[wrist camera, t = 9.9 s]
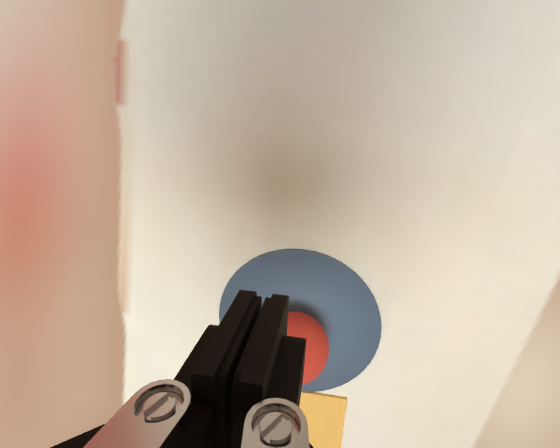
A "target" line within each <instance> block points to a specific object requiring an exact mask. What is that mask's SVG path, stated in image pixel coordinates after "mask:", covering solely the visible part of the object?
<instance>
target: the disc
mask: <svg viewBox="0 0 560 448" xmlns="http://www.w3.org/2000/svg"><path fill="white" fill-rule="evenodd" d="M239 290H248V291H256V292H257V296H261V297H262V305H263V303H264V300H265V298H266V297H269V298H271V296H272V294H280V295H288V296H289V307H288V312H289V311H297V312H302V313H306V314H308V315H310V316H311V317H313V318H314V319H316V320H317V321H318V322H319V323H320V325H321V326H322V327H323V329H324V331H325V333H326V335H327V338H328V343H329V355H328V360H327V363H326V365H325V367H324V369H323V371H322V372H321V373H320V375H319V376H318V377H317V378H316V379H314V380H313V381H311V382H309V383H307V384H304V385H302V390H301V392H316V391H324V390H328V389H332V388H335V387H338V386H341V385H343V384H345V383H347V382H349V381H350V380H352V379H354V378H355V377H357V376H358V375H359V374H360V373H361V372H362V371H363V370H364V369H365V368H366V367H367V366H368V365H369V363H370V362H371V360H372V359H373V357H374V356H375V353H376V351H377V349H378V346H379V342H380V338H381V318H380V313H379V309H378V306H377V303H376V301H375V298H374V296H373V295H372V293H371V291H370V289H369V288H368V287H367V285H366V284H365V283H364V281H363V280H362V279H361V278H360V277H359V276H358V275H357V274H356V273H355V272H354V271H352V270H351V269H350V268H348V267H347V266H346V265H344V264H343V263H341V262H339V261H337V260H336V259H333V258H331V257H329V256H326V255H324V254H320V253H317V252H313V251H307V250H297V249H288V250H279V251H274V252H269V253H266V254H264V255H261V256H259V257H257V258H255V259H253V260H251V261H249V262H248V263H246V264H245V265H244V266H242V267H241V268H240V269H239V270H238V271H237V272H236V273H235V274H234V276H233V277H232V278H231V279H230V281H229V282H228V284H227V286H226V288H225V290H224V292H223V295H222V298H221V303H220V310H219V319H220V322H221V321H222V319H223V317H224V316H225V314H226V312H227V310H228V309H229V307H230V305H231V304H232V302H233V300H234V299H235V297H236V295H237V293H238V292H239Z"/></svg>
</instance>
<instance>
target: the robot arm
mask: <svg viewBox="0 0 560 448" xmlns="http://www.w3.org/2000/svg"><path fill="white" fill-rule="evenodd" d="M288 307H289V296H288V295H280V294H272V296H271V298H269V297H266V298H265V300H264V303H263V305H262V297H261V296H257V292H256V291H248V290H239V292H238V293H237V295H236V297H235V299H234V300H233V302H232V304H231V305H230V307H229V309H228V310H227V312H226V314H225V316H224V317H223V319H222V321H221V322H220V324H219V326H216V325H209V326H208V327H207V328H206V330H205V331H204V333H203V335H202V336H201V338H200V339H199V341H198V342H197V344H196V346H195V347H194V349H193V350H192V352H191V353H190V355H189V357H188V358H187V360H186V361H185V363H184V364H183V366H182V367H181V369H180V371H179V372H178V374H177V375H176V377H175V378H174V380H171V379H166V380H158V381H155V382H152V383H149V384H148V385H146V386H144V387H142V388H141V389H140V390H138V391H137V392H136V393H135V394H134V395H133V396H132V397H131V398H130V399H129V400H128V401H127V402H126V403H125V404H124V405H123V406H122V407H121V408H120V409H119V411H118V412H117V413H116V414H115V415H114V416H113V417H112V418H111V419H110V420H109V421H108V422H107V423H106V424H103V425H101V426H99V427H97V428H94V429H92V430H90V431H88V432H85V433H83V434H81V435H78V436H76V437H74V438H71V439H69V440H67V441H65V442H62V443H60V444H58V445H55V446H53V447H51V448H314V447H313V446H312V445H311V444H310V443H309V433H308V424H307V419H306V416H305V415H304V413H303V411H302V410H301V409H300V408H299V405H300V397H301V390H302V382H303V373H304V364H305V352H306V338H300V337H293V336H287V324H288Z"/></svg>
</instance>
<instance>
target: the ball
mask: <svg viewBox="0 0 560 448" xmlns="http://www.w3.org/2000/svg"><path fill="white" fill-rule="evenodd" d="M287 336H293V337H300V338H306V352H305V364H304V373H303V382H302V385H304V384H307V383H309V382H311V381H313V380H314V379H316V378H317V377H318V376H319V375H320V373H321V372H322V371H323V369H324V367H325V365H326V363H327V360H328V355H329V343H328V338H327V335H326V333H325V331H324V329H323V327H322V326H321V325H320V323H319V322H318V321H317V320H316V319H314V318H313V317H311V316H310V315H308V314H306V313H302V312H297V311H289V312H288V324H287Z"/></svg>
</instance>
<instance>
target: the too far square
mask: <svg viewBox="0 0 560 448" xmlns="http://www.w3.org/2000/svg"><path fill="white" fill-rule="evenodd" d="M346 404H347V398H344V397H338V396H332V395H326V394H320V393H314V392H301V397H300V405H299V408H300V409H301V410H302V411H303V413H304V415H305V416H306V419H307V424H308V433H309V443H310V444H311V445H312V446H313V447H314V448H341V441H342V433H343V426H344V419H345V411H346Z"/></svg>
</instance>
